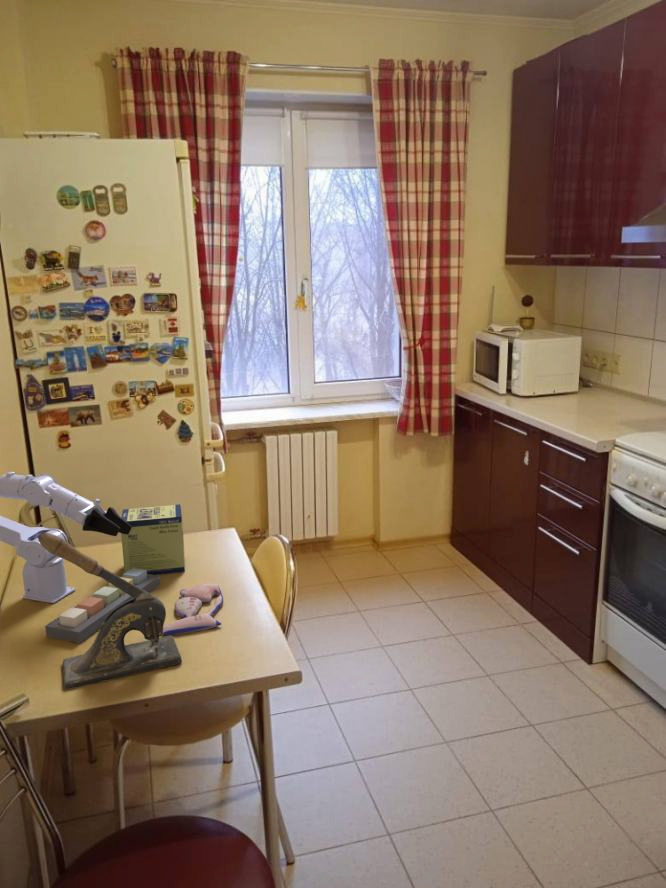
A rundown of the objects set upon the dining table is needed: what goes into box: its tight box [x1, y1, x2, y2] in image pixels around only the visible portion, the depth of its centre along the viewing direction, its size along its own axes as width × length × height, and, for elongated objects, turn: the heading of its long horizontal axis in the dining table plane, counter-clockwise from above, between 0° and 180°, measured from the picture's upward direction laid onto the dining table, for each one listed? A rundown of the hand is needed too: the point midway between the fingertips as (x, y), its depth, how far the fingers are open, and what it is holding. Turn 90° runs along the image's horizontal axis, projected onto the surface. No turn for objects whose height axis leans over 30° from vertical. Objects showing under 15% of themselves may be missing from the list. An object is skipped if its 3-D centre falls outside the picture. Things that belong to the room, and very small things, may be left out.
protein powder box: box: [120, 504, 186, 576], centre depth 184 cm, size 10×16×16 cm
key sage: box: [92, 586, 119, 605], centre depth 162 cm, size 4×4×3 cm
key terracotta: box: [76, 596, 104, 616], centre depth 157 cm, size 4×4×3 cm
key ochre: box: [108, 576, 133, 595], centre depth 168 cm, size 4×4×3 cm
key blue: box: [122, 568, 147, 585], centre depth 173 cm, size 4×4×3 cm
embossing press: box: [38, 533, 183, 690], centre depth 136 cm, size 11×24×30 cm, turn 109°
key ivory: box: [58, 606, 88, 628], centre depth 152 cm, size 4×4×3 cm
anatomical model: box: [162, 583, 224, 636], centre depth 161 cm, size 20×3×15 cm
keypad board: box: [44, 574, 161, 644], centre depth 163 cm, size 9×30×2 cm, turn 160°
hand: (124, 531), depth 163 cm, fingers open, 7 cm apart
